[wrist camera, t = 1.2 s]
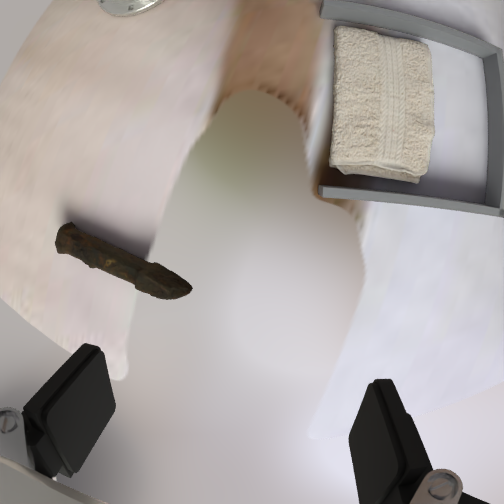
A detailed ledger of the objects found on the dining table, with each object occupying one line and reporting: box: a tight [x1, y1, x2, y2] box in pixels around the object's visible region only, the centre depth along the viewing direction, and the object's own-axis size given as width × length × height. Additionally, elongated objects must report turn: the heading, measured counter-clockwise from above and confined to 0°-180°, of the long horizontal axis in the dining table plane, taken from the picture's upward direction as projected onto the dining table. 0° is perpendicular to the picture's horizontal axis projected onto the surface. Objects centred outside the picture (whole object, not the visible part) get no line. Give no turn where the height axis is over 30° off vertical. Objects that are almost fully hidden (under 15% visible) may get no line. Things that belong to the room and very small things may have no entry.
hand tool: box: [55, 222, 193, 300], centre depth 36 cm, size 19×4×5 cm, turn 67°
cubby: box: [318, 0, 504, 218], centre depth 28 cm, size 22×24×4 cm
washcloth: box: [329, 26, 435, 184], centre depth 29 cm, size 12×18×3 cm, turn 177°
